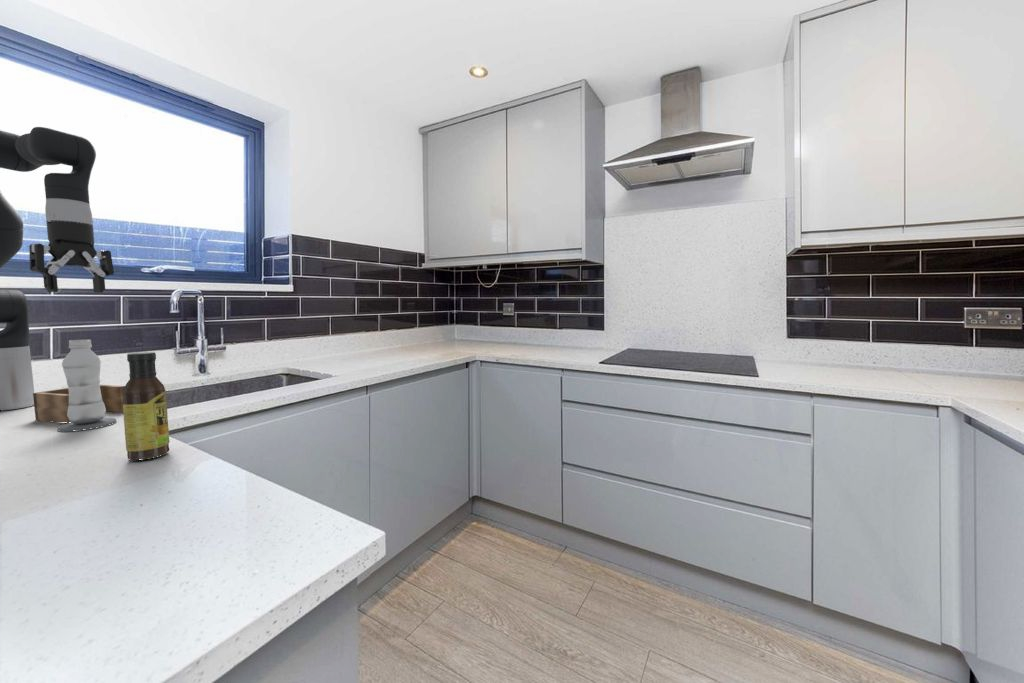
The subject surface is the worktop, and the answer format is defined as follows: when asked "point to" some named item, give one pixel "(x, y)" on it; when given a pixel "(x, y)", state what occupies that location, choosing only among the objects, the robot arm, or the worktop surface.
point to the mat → (86, 425)
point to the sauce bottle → (145, 409)
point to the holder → (57, 402)
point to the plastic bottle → (83, 383)
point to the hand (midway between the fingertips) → (76, 292)
